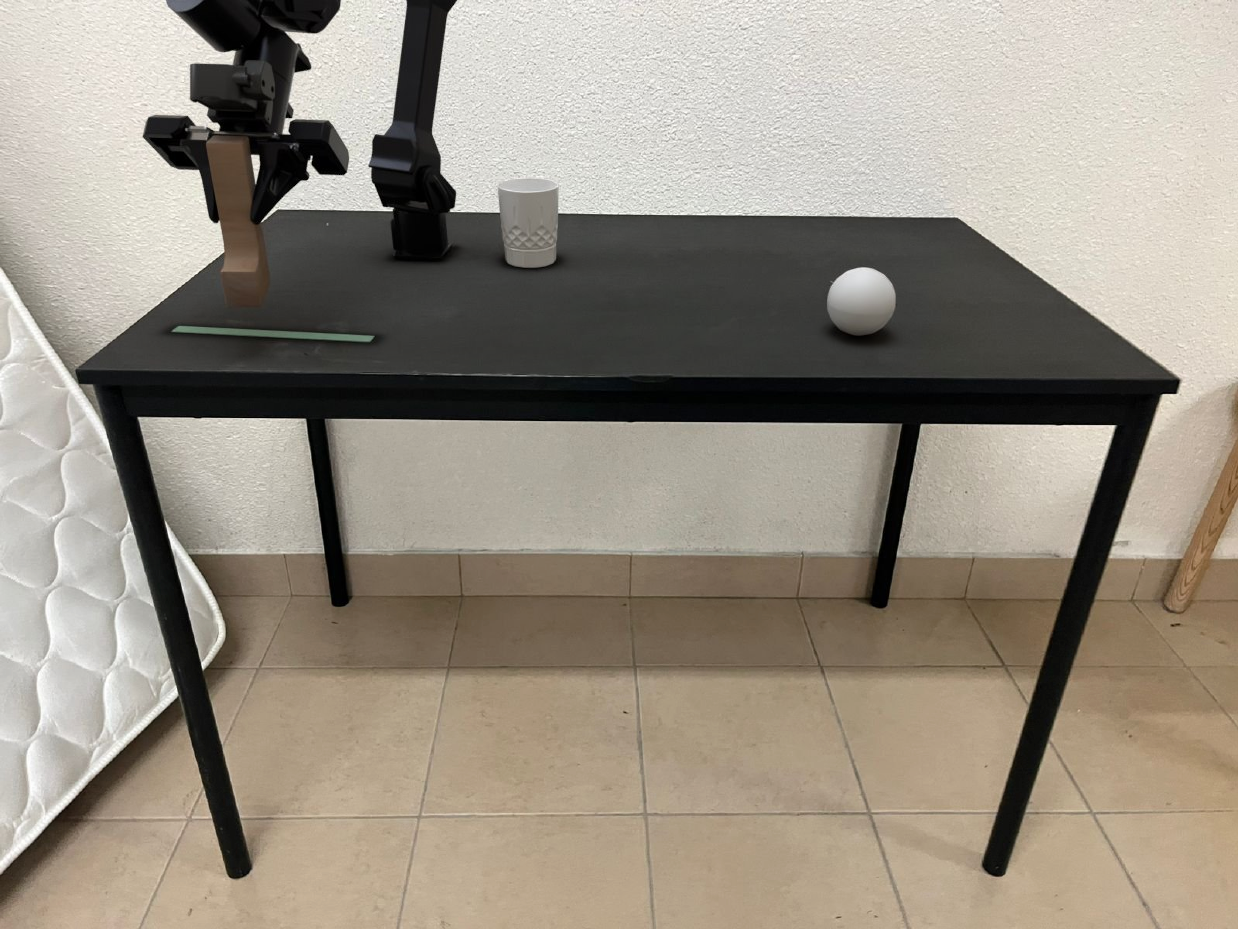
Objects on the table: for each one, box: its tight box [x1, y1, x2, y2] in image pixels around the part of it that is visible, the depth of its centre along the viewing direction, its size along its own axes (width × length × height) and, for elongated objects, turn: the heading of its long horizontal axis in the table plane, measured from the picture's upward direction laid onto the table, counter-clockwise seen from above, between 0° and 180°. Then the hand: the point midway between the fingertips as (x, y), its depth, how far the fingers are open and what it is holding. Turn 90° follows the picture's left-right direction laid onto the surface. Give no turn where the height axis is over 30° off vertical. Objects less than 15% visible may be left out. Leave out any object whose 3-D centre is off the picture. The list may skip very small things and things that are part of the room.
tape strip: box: [170, 325, 375, 343], centre depth 96 cm, size 22×2×1 cm, turn 85°
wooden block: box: [206, 136, 272, 308], centre depth 87 cm, size 7×3×15 cm, turn 10°
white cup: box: [496, 177, 560, 269], centre depth 117 cm, size 8×8×10 cm
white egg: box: [825, 266, 897, 337], centre depth 99 cm, size 10×7×7 cm
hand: (233, 221), depth 87 cm, fingers closed on wooden block, 4 cm apart
